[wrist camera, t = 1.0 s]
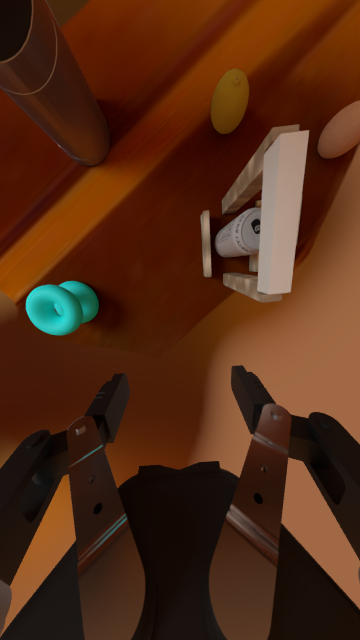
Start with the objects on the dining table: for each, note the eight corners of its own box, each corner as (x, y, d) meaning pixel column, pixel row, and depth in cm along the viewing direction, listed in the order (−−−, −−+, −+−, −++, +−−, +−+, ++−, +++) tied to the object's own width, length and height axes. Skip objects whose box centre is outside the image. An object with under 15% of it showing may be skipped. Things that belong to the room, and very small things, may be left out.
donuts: (84, 334, 32) (35, 340, 32) (105, 318, 42) (67, 323, 42) (66, 282, 29) (11, 290, 29) (93, 277, 38) (52, 283, 39)
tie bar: (263, 154, 18) (280, 133, 15) (287, 151, 17) (309, 130, 15) (257, 290, 22) (268, 294, 19) (276, 288, 22) (290, 292, 19)
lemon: (209, 102, 29) (220, 45, 21) (240, 106, 29) (262, 52, 22) (205, 143, 31) (213, 103, 23) (234, 146, 31) (252, 109, 23)
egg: (302, 160, 32) (343, 126, 24) (318, 122, 30) (368, 72, 22) (328, 171, 32) (377, 141, 24) (345, 134, 31) (404, 89, 23)
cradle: (200, 202, 34) (225, 133, 16) (256, 196, 33) (347, 118, 16) (204, 286, 39) (226, 306, 21) (253, 281, 39) (317, 297, 21)
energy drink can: (221, 263, 38) (248, 262, 23) (208, 238, 36) (228, 222, 22) (245, 247, 37) (288, 236, 22) (233, 221, 35) (270, 192, 21)
